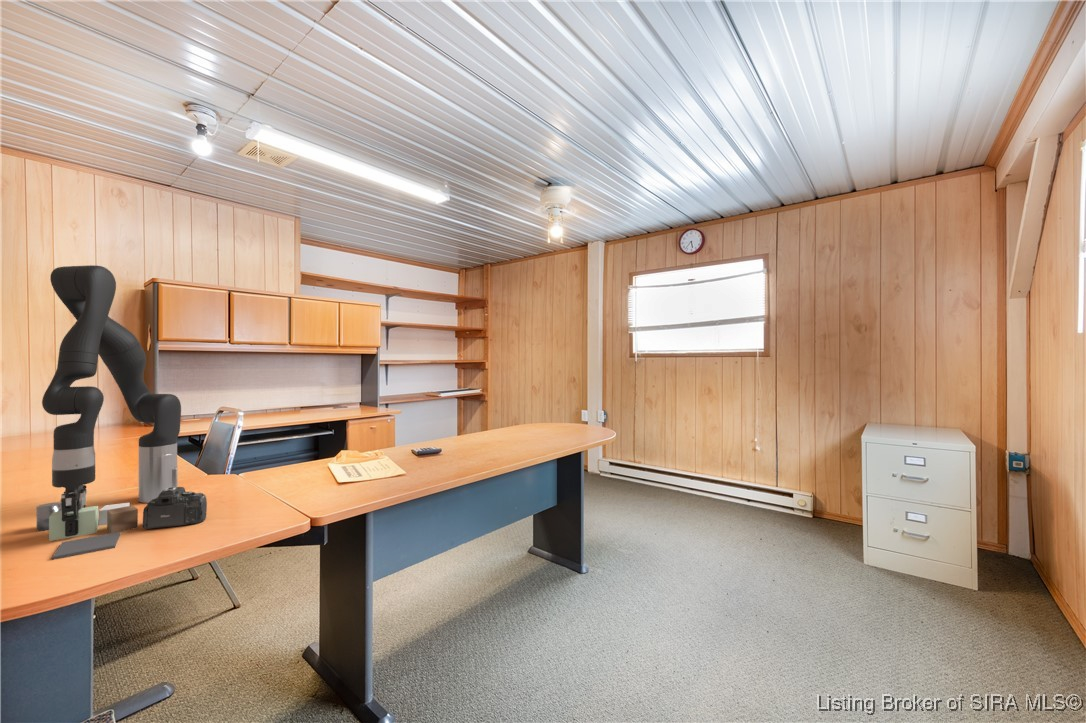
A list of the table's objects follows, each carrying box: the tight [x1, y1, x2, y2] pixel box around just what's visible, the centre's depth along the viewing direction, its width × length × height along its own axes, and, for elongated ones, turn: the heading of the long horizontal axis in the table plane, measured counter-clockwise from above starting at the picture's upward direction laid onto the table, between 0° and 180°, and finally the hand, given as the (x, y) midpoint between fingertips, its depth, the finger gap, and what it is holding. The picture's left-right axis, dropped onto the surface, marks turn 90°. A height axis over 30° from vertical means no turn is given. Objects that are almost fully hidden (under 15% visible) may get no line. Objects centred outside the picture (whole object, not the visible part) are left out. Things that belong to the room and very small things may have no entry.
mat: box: [51, 532, 121, 560], centre depth 105 cm, size 10×10×1 cm
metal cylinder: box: [35, 501, 62, 532], centre depth 115 cm, size 4×4×6 cm
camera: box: [142, 486, 208, 530], centre depth 119 cm, size 13×10×10 cm
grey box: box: [98, 502, 131, 526], centre depth 121 cm, size 5×5×4 cm
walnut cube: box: [106, 504, 139, 534], centre depth 115 cm, size 5×5×5 cm
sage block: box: [48, 505, 99, 542], centre depth 111 cm, size 8×4×6 cm, turn 129°
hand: (74, 531), depth 111 cm, fingers open, 5 cm apart
